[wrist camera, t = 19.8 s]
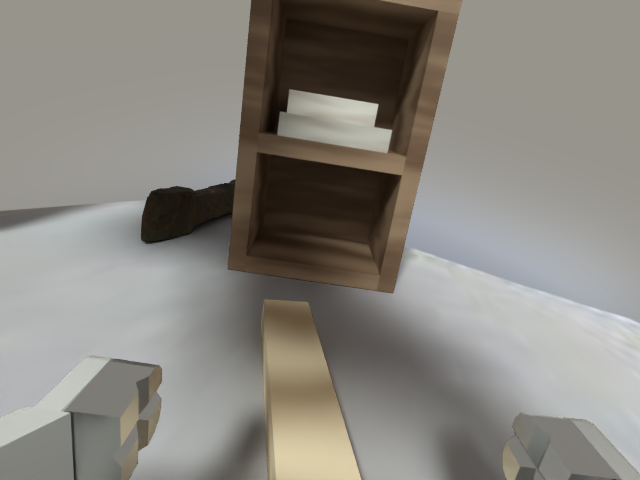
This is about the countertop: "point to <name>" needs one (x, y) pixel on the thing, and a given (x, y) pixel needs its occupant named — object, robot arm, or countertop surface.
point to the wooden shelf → (335, 135)
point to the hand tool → (183, 210)
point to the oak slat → (301, 400)
